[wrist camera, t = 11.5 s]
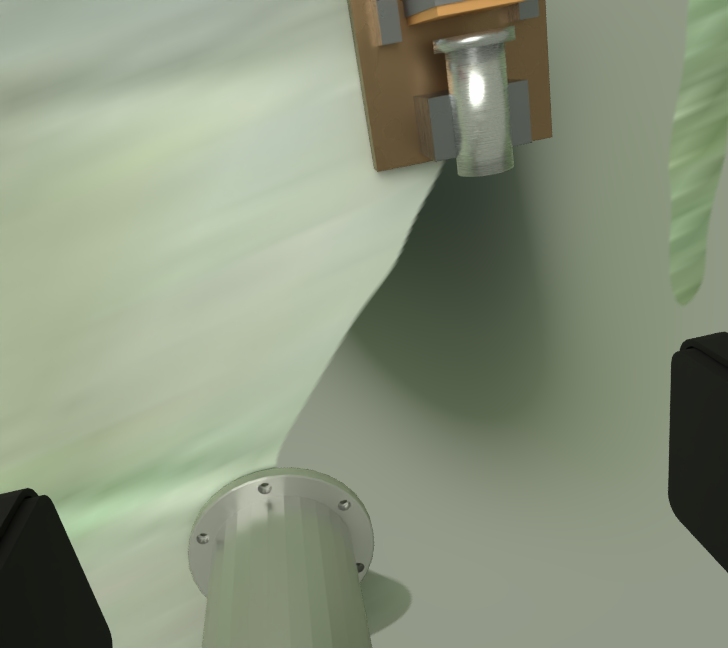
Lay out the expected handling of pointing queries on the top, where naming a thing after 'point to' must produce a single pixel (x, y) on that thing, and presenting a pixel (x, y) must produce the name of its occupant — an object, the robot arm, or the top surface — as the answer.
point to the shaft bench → (452, 84)
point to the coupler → (448, 8)
